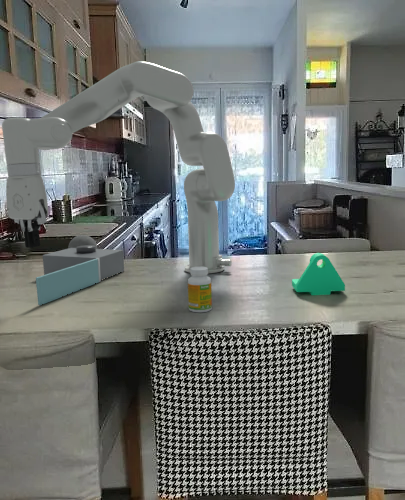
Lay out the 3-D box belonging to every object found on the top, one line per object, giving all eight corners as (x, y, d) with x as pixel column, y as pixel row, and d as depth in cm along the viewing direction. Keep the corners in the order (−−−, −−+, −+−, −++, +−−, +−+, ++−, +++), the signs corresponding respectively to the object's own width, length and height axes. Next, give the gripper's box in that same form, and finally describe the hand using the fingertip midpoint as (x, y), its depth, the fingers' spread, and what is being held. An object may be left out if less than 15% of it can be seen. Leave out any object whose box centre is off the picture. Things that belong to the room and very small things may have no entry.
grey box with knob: (124, 271, 153) (122, 245, 152) (99, 281, 140) (97, 252, 139) (72, 268, 161) (70, 243, 159) (44, 277, 148) (42, 250, 146)
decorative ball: (69, 261, 173) (67, 234, 171) (97, 259, 175) (96, 232, 174) (68, 266, 164) (66, 237, 162) (98, 264, 166) (96, 236, 164)
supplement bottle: (201, 314, 106) (200, 271, 105) (183, 310, 110) (182, 268, 108) (216, 308, 110) (215, 267, 109) (199, 304, 114) (197, 264, 112)
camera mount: (336, 287, 127) (337, 249, 125) (344, 295, 120) (345, 254, 118) (291, 288, 127) (291, 250, 126) (296, 296, 120) (297, 255, 118)
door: (98, 281, 140) (96, 258, 139) (101, 281, 140) (100, 258, 139) (37, 304, 117) (35, 277, 116) (41, 305, 116) (39, 277, 115)
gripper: (-9, 173, 116) (0, 247, 119) (31, 171, 108) (41, 251, 111) (17, 171, 122) (26, 242, 125) (57, 170, 114) (65, 245, 118)
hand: (33, 246), depth 118 cm, fingers closed
